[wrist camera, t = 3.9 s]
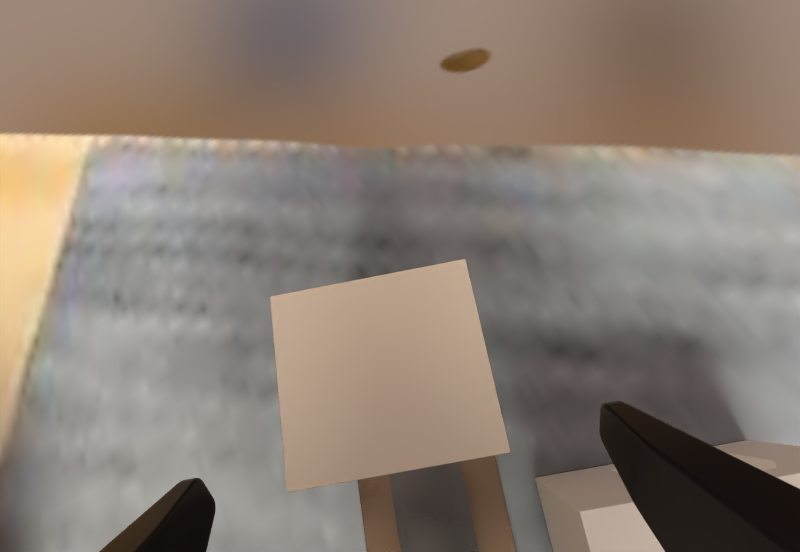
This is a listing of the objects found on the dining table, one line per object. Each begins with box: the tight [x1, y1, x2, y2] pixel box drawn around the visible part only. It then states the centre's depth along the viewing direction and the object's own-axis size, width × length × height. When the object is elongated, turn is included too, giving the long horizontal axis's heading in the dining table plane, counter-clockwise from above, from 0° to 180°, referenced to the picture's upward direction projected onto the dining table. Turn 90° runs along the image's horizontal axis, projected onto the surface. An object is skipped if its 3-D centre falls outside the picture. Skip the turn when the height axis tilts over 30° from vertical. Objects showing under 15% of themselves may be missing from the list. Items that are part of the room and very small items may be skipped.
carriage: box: [270, 259, 510, 492], centre depth 14 cm, size 5×5×10 cm
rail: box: [358, 455, 516, 552], centre depth 17 cm, size 18×6×2 cm, turn 10°
